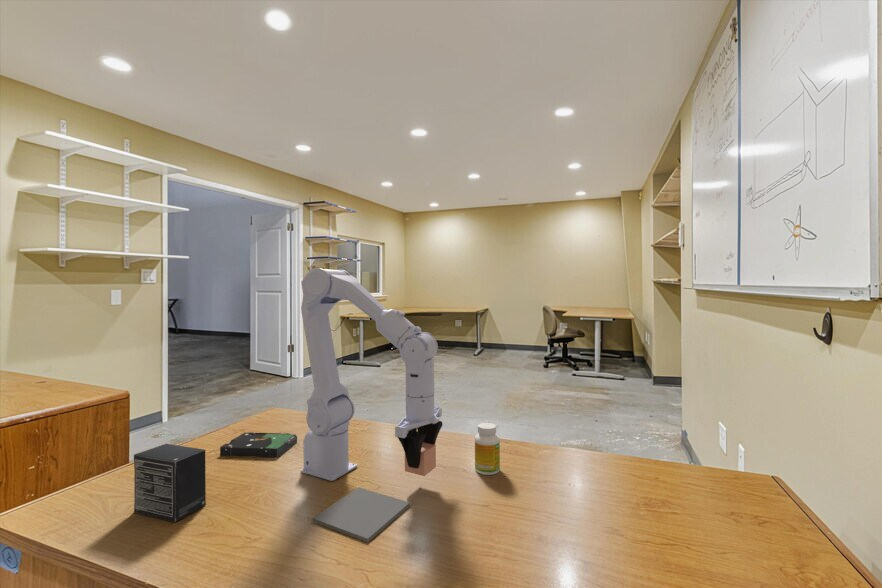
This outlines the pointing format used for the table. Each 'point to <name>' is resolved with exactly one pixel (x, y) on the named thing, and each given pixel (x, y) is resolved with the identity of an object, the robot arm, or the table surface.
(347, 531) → the mat
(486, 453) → the supplement bottle
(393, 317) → the robot arm
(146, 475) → the small box
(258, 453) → the disk drive
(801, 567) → the table surface
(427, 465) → the cube
